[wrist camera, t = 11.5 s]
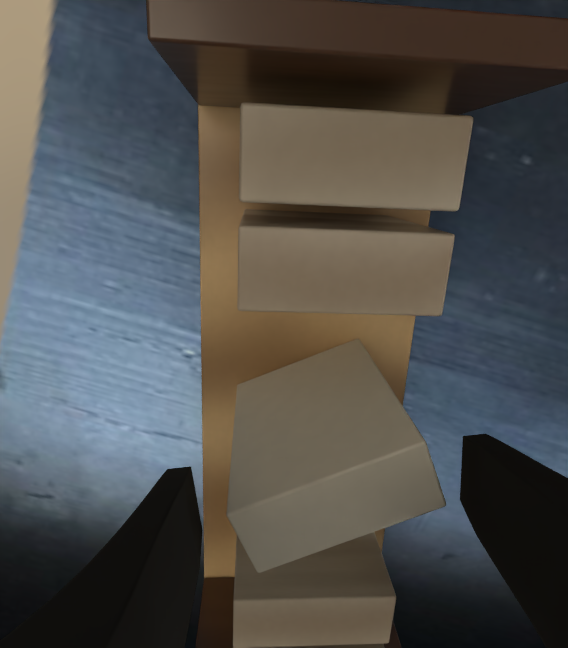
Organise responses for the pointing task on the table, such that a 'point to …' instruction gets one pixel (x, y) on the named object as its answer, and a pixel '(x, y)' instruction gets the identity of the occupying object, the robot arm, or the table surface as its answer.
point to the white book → (323, 458)
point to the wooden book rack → (325, 238)
